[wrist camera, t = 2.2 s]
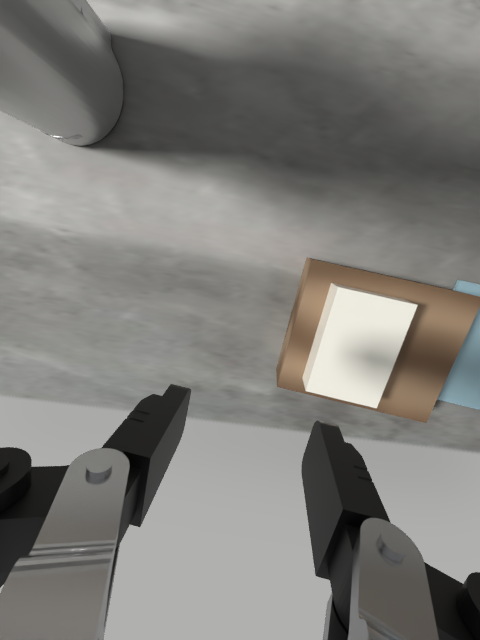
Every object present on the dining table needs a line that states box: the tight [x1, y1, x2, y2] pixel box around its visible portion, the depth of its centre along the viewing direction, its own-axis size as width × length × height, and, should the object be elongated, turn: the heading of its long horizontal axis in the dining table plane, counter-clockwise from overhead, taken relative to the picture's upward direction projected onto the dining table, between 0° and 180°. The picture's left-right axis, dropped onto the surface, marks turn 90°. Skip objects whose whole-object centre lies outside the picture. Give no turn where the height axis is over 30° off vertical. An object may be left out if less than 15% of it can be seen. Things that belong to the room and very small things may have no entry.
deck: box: [276, 258, 480, 423], centre depth 27 cm, size 12×14×4 cm
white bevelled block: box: [302, 283, 418, 408], centre depth 23 cm, size 9×6×2 cm, turn 168°
